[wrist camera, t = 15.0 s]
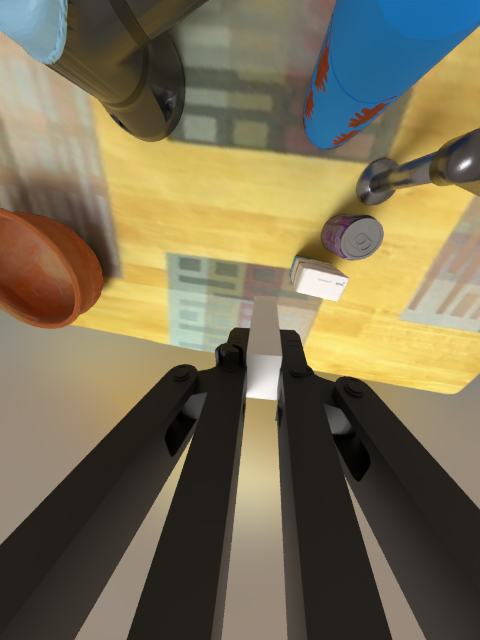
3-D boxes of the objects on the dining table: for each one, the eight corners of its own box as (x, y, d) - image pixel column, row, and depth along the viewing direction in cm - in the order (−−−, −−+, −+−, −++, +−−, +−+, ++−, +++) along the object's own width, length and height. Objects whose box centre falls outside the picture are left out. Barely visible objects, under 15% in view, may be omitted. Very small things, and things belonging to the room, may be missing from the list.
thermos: (303, 158, 36) (360, 72, 14) (298, 76, 31) (373, -246, 9) (368, 139, 33) (555, -1, 12) (373, 47, 29) (705, -474, 7)
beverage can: (362, 234, 40) (395, 240, 30) (332, 257, 43) (352, 271, 33) (344, 206, 39) (372, 203, 28) (313, 232, 41) (329, 239, 31)
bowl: (25, 263, 54) (-52, 278, 41) (45, 181, 43) (-51, 166, 30) (105, 318, 60) (60, 347, 47) (140, 259, 49) (95, 275, 36)
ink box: (288, 275, 47) (294, 292, 36) (295, 254, 44) (303, 266, 34) (322, 283, 46) (338, 302, 36) (331, 262, 44) (351, 277, 34)
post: (358, 165, 35) (421, 131, 21) (401, 155, 34) (500, 112, 20) (354, 208, 38) (406, 204, 24) (393, 201, 37) (473, 192, 23)
